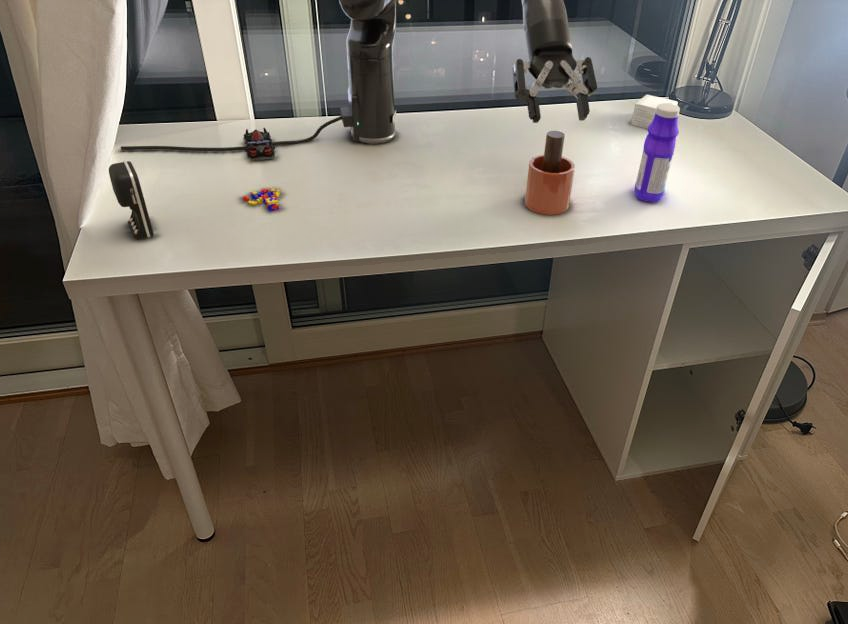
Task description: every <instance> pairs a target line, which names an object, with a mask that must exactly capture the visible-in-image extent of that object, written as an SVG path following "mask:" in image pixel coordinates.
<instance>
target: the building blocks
mask: <svg viewBox="0 0 848 624" xmlns="http://www.w3.org/2000/svg"><path fill="white" fill-rule="evenodd" d="M264 194H265V195H264ZM280 195H281V193H280V189H276V188H274V187H272V186H269V188H262V189H261V190H260V192H257V191H256V190H254V191H252V190H249V196H250V197H251V200H250V198H249V197H248V196H246V195H245V196H242V200H243V201H244V202H245V203H246V202H248V205H249V206H257V205H259V204H260V203H261V204H262V203H263V204H264V205H265V207H266V208H267V210H268V211H269V212H273V211H277V210H279V209H280V207H279V201H278V199H277V198H280ZM254 200H256V201H254Z"/></svg>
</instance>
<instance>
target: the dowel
mask: <svg viewBox="0 0 848 624" xmlns="http://www.w3.org/2000/svg"><path fill="white" fill-rule="evenodd" d="M565 136H566V135H565V133H564V132H562V131H559V130H550V131H547V132H546V136H545V142H544V143H545V144H544V151H543V152H544V153H543V155H544V159H543V167H542V171H544V172H549V173H560V166H561V159H562V157H563V150H564V144H565Z"/></svg>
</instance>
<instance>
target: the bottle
mask: <svg viewBox="0 0 848 624" xmlns="http://www.w3.org/2000/svg"><path fill="white" fill-rule="evenodd" d="M680 111H681V108H680V106H679V105H678V104H677V105H675V104H671V103H661V104H658V105H657V109H656V113H655V116H654V119H653V121H652V123H651V124H650V125H649V126H648V129H647V128H646V129H647V130H646V131H647V132H648V133H647V135H646V137H645V140H644V143H643V149H642V155H641V158H640V164H639V167H638V172H637V176H636V181H635V183H634V194H635V196H636V198H637V199H638V200H641V201H645V202H653V203H657V202H659V201H661V199H662V198H663V197H664V195H665V192H666V185H667V180H668V176H669V172H670V167H671V164H672V160H673V156H674V153H675V150H676V145H677V144H676V143H677V137H678V136H679V133H680V130H679V126H678V122H679V121H678V120H679V115H680Z"/></svg>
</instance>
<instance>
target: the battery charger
mask: <svg viewBox="0 0 848 624" xmlns="http://www.w3.org/2000/svg"><path fill="white" fill-rule="evenodd" d="M135 169H136V168H135V167H134V165H133V162H132V161H130V160H123V161H122V162H116V163H115V162H114V163H111V165H109V167H108V175H109V178H110V183H111V187H112V190H113V194H114V196H115V198H116V200H117V203H118V205H120V207H122V208H129V210H130V211H131V213H130V217H129V219H128V220H127V225H128V228H129V230H130V232H131V234H132V236H133V238H134V239H145V238H151V237H153V236H154V235H155V233H154V230H153V226H152V221H151V219H150V215H149V212H148V208H147V203H146V200H145V197H144V193H143V190H142V186H141V183H140V179H139V175H138V173H137V171H136V170H135Z"/></svg>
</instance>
